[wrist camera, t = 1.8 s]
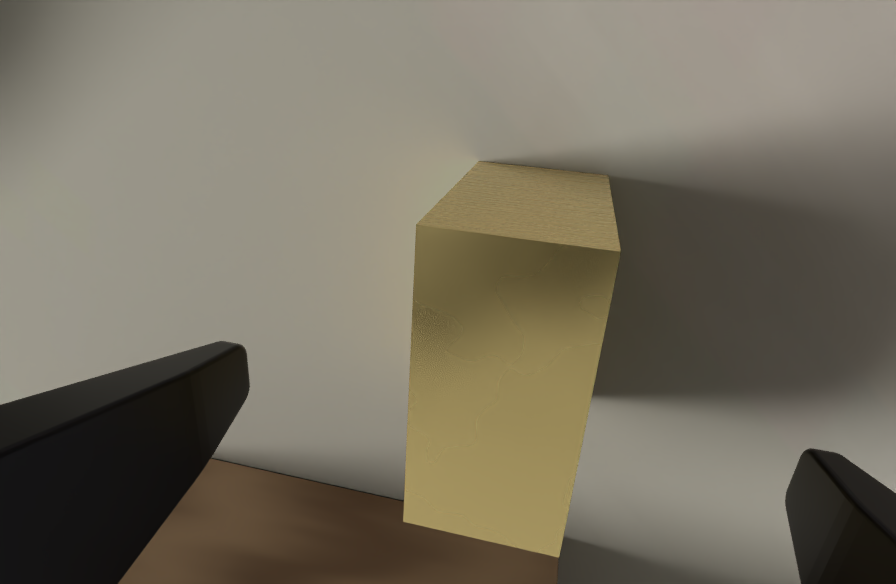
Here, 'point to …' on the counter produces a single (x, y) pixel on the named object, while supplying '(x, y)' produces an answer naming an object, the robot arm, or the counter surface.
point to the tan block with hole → (314, 539)
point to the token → (506, 350)
